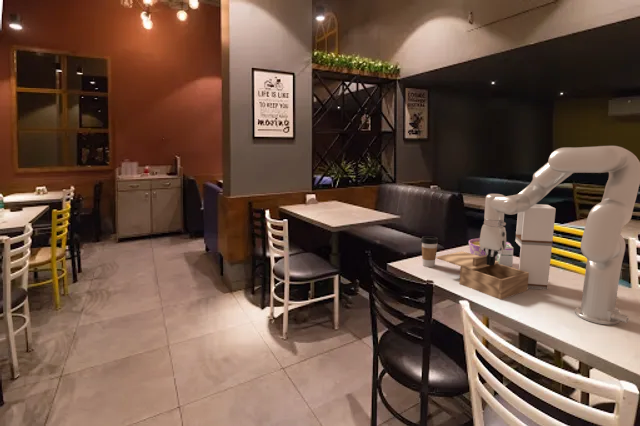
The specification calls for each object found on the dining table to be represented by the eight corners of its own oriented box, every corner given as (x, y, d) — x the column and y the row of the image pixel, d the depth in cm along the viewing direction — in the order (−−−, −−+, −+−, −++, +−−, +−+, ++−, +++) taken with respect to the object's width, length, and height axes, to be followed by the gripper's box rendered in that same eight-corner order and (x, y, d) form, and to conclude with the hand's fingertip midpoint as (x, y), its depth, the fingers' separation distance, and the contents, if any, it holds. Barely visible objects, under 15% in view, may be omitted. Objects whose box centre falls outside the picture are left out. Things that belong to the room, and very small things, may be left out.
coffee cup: (416, 264, 192) (417, 236, 190) (429, 262, 196) (430, 234, 193) (427, 268, 185) (428, 239, 182) (440, 266, 188) (442, 237, 186)
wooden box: (527, 290, 156) (528, 272, 154) (500, 299, 147) (502, 280, 146) (485, 276, 173) (486, 260, 171) (459, 283, 164) (460, 266, 163)
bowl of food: (468, 268, 184) (470, 246, 182) (465, 257, 203) (466, 237, 201) (513, 272, 178) (515, 249, 176) (505, 260, 197) (507, 239, 195)
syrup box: (511, 277, 171) (514, 247, 169) (498, 276, 173) (500, 246, 170) (508, 273, 177) (510, 244, 174) (495, 272, 178) (497, 243, 176)
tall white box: (539, 281, 167) (547, 204, 161) (547, 289, 157) (555, 208, 150) (512, 278, 170) (518, 203, 164) (517, 287, 160) (524, 207, 154)
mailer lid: (498, 263, 166) (499, 254, 165) (472, 270, 157) (472, 260, 157) (462, 252, 183) (462, 244, 183) (436, 258, 174) (436, 249, 174)
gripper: (515, 225, 152) (512, 267, 155) (483, 219, 165) (481, 258, 168) (504, 227, 148) (500, 270, 151) (472, 221, 161) (470, 261, 164)
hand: (490, 264), depth 160 cm, fingers closed
